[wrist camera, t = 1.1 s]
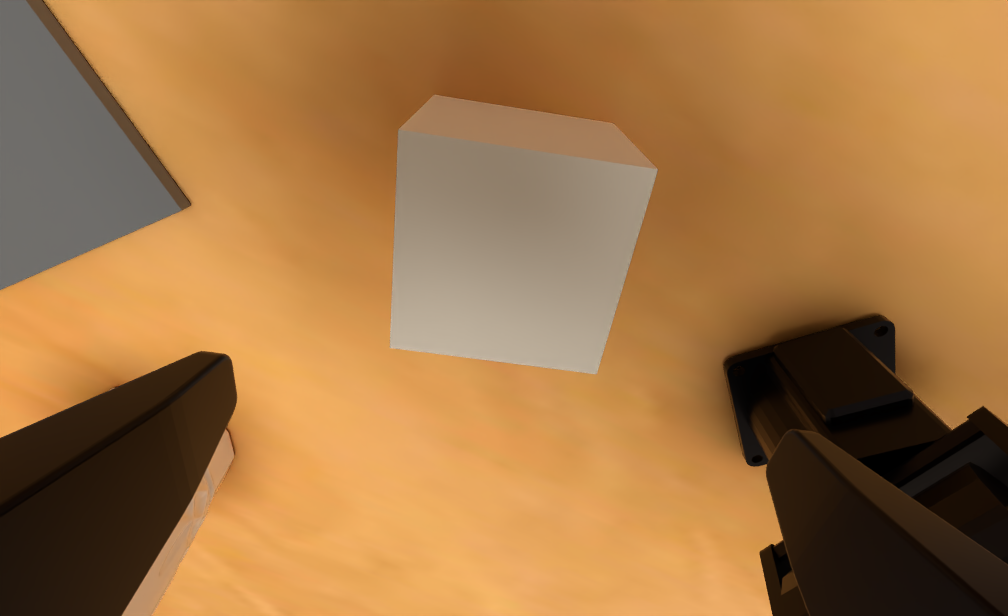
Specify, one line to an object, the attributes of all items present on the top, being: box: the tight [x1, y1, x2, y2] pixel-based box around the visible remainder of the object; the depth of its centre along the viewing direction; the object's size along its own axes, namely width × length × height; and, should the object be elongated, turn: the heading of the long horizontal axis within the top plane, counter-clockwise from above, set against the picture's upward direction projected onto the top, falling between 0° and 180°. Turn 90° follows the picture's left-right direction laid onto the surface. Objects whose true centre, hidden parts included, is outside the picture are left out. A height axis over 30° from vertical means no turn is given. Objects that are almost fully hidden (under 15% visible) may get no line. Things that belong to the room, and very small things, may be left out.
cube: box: [390, 95, 658, 374], centre depth 15 cm, size 6×6×6 cm
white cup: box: [110, 388, 234, 616], centre depth 20 cm, size 8×8×10 cm
